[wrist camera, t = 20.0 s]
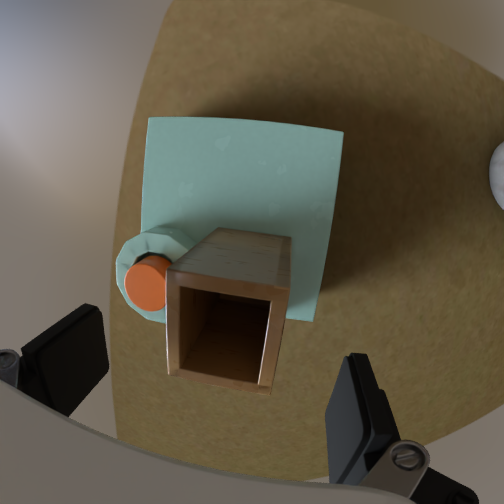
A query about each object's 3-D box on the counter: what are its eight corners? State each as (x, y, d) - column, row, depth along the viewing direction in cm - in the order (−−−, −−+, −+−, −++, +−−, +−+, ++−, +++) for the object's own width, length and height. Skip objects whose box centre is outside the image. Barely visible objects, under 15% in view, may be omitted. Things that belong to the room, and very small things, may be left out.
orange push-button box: (308, 307, 23) (311, 348, 18) (153, 281, 25) (118, 312, 19) (334, 139, 20) (349, 127, 14) (162, 124, 21) (122, 113, 15)
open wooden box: (280, 312, 19) (270, 395, 11) (212, 301, 20) (167, 375, 12) (291, 236, 18) (290, 288, 10) (217, 226, 18) (165, 268, 11)
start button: (179, 304, 18) (169, 316, 17) (137, 295, 19) (125, 306, 17) (180, 258, 17) (169, 268, 16) (136, 251, 18) (122, 260, 16)
